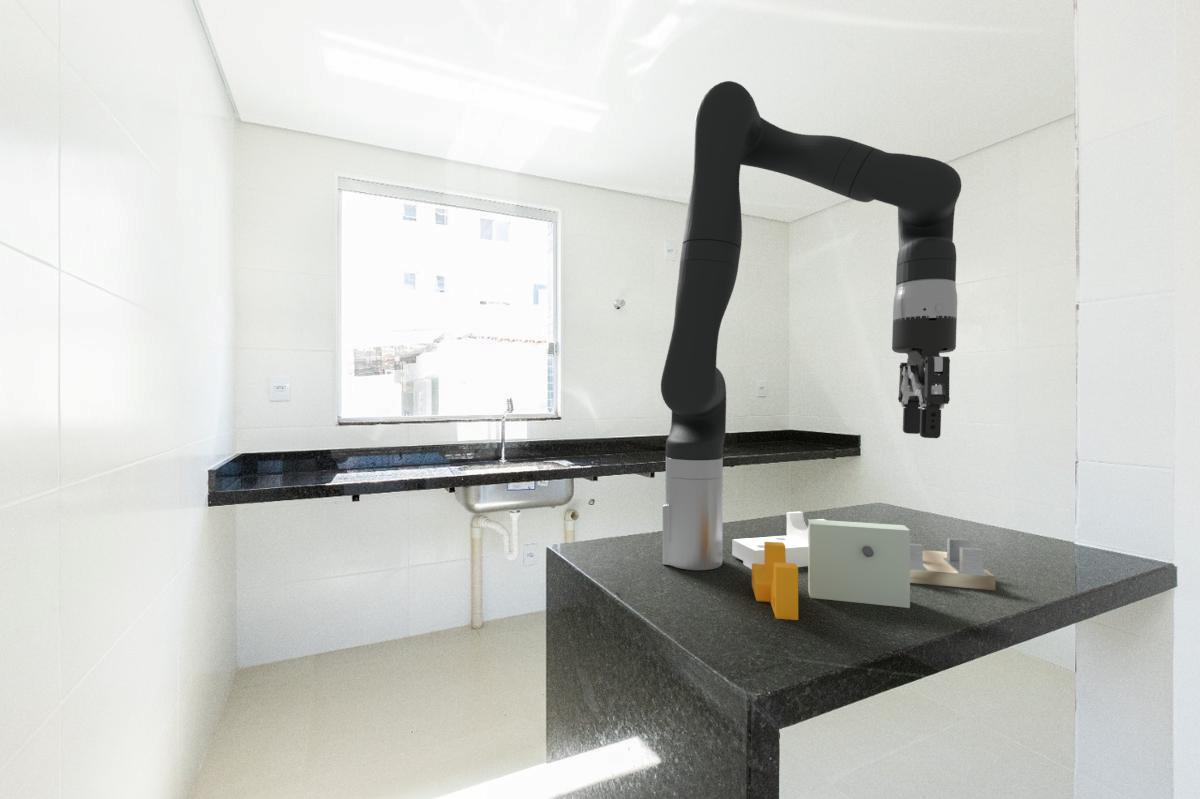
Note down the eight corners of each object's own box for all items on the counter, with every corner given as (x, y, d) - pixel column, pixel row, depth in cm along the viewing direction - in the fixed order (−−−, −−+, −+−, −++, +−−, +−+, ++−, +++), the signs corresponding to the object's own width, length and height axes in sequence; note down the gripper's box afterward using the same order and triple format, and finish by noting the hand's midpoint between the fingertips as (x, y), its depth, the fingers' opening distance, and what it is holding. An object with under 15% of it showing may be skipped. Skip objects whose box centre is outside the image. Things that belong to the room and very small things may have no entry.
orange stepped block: (751, 585, 78) (751, 541, 78) (783, 587, 77) (783, 542, 77) (761, 618, 66) (761, 566, 66) (798, 621, 65) (798, 568, 65)
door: (810, 600, 72) (810, 525, 72) (808, 590, 76) (808, 519, 76) (911, 611, 68) (912, 532, 68) (904, 600, 72) (904, 525, 72)
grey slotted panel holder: (898, 568, 79) (898, 544, 79) (888, 555, 85) (888, 533, 85) (987, 575, 76) (987, 550, 76) (970, 562, 82) (970, 539, 82)
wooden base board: (891, 581, 79) (891, 567, 79) (875, 558, 91) (875, 546, 91) (995, 590, 75) (995, 576, 75) (965, 565, 87) (965, 553, 87)
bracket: (799, 554, 94) (799, 511, 94) (826, 567, 87) (826, 520, 87) (732, 560, 90) (732, 515, 90) (755, 573, 84) (755, 524, 84)
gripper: (882, 324, 82) (878, 431, 82) (907, 309, 68) (903, 438, 68) (938, 324, 80) (934, 433, 80) (975, 308, 66) (971, 440, 66)
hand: (920, 435), depth 74 cm, fingers open, 8 cm apart
